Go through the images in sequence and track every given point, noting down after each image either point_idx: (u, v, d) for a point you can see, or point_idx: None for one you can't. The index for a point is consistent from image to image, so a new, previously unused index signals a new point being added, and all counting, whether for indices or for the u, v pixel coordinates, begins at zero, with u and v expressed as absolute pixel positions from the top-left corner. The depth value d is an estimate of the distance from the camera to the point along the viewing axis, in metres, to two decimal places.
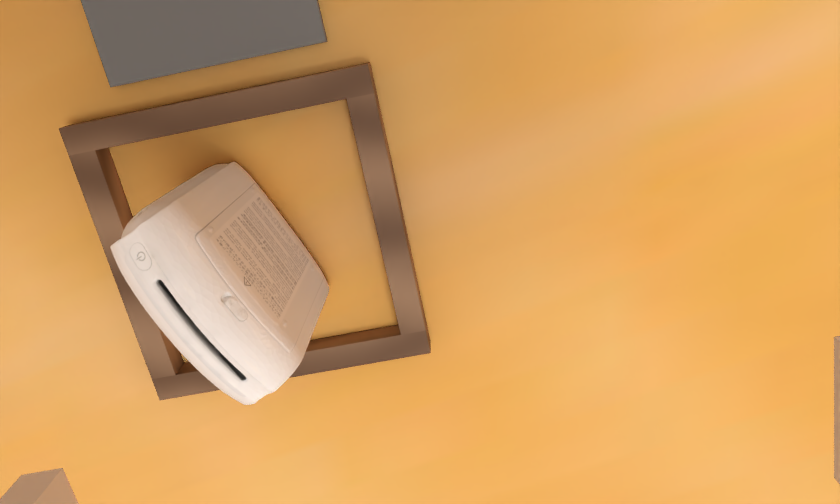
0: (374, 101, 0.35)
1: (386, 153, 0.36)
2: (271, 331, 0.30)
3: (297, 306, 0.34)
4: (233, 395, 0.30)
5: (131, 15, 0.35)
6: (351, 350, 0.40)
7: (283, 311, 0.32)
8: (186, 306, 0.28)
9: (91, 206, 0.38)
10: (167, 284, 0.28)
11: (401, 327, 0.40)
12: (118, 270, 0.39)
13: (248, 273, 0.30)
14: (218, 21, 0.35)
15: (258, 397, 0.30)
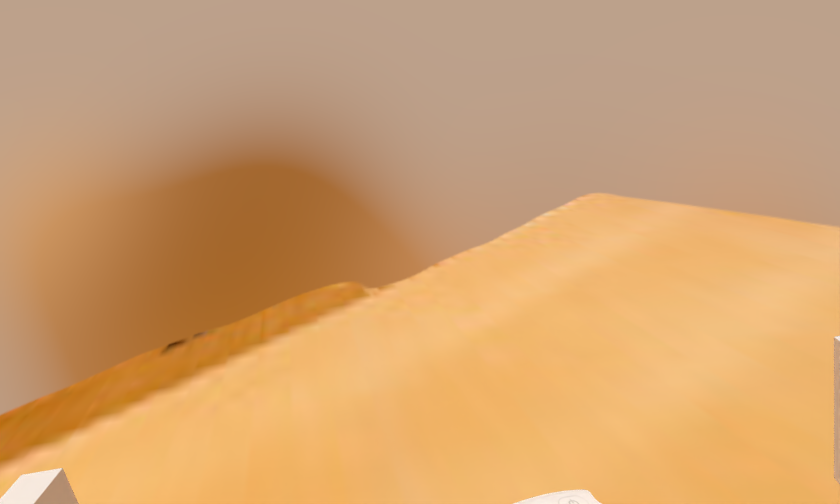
0: None
1: None
2: None
3: None
4: None
5: None
6: None
7: None
8: None
9: None
10: None
11: None
12: None
13: None
14: None
15: None
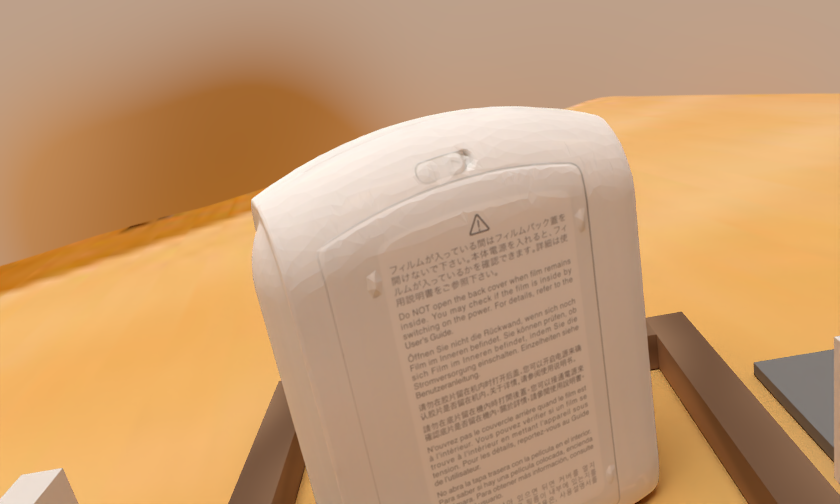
0: None
1: None
2: (376, 220, 0.15)
3: (386, 384, 0.16)
4: None
5: None
6: None
7: (395, 307, 0.15)
8: (466, 112, 0.16)
9: None
10: (507, 109, 0.17)
11: None
12: None
13: (489, 251, 0.16)
14: None
15: (259, 200, 0.16)
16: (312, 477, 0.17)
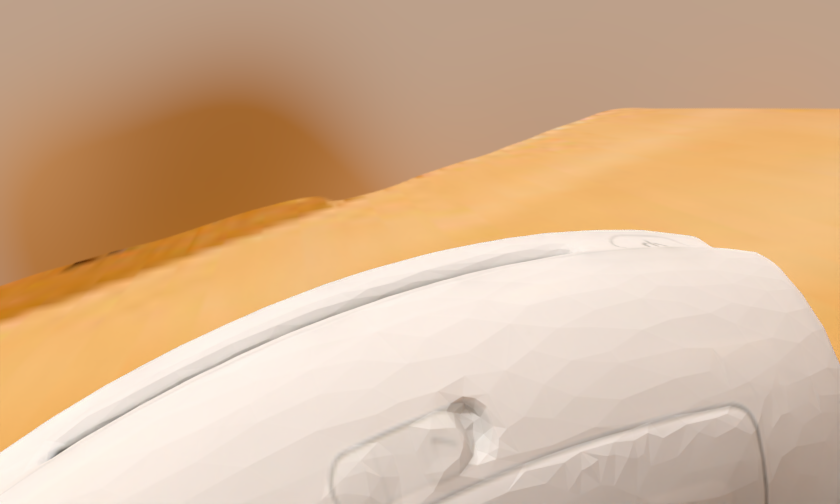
0: None
1: None
2: None
3: None
4: None
5: None
6: None
7: None
8: (470, 274, 0.07)
9: None
10: (567, 254, 0.07)
11: None
12: None
13: None
14: None
15: None
16: None
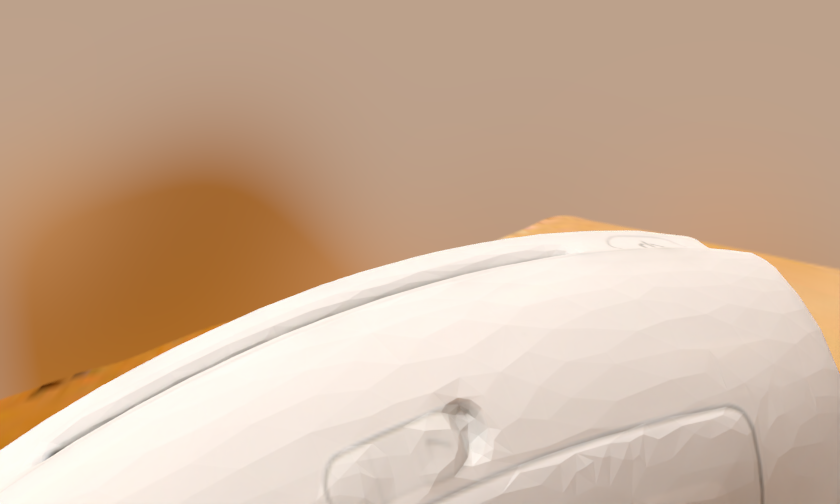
0: None
1: None
2: None
3: None
4: None
5: None
6: None
7: None
8: (465, 274, 0.07)
9: None
10: (563, 254, 0.07)
11: None
12: None
13: None
14: None
15: None
16: None
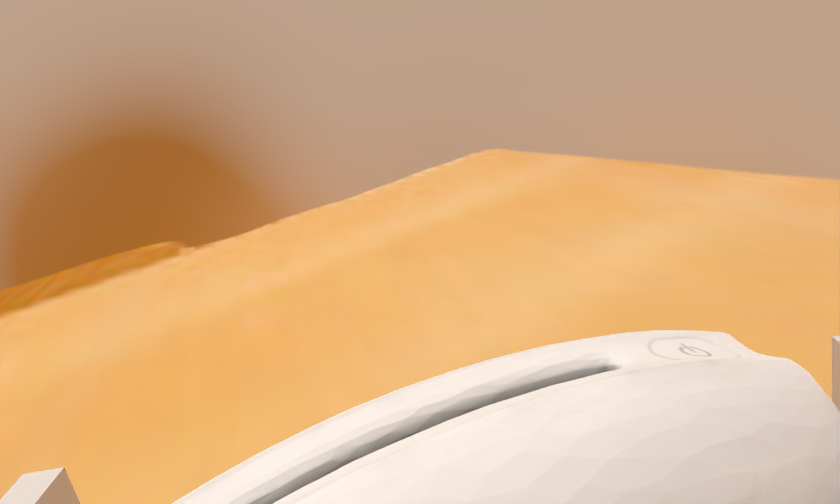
0: None
1: None
2: None
3: None
4: None
5: None
6: None
7: None
8: (523, 399, 0.07)
9: None
10: (612, 372, 0.08)
11: None
12: None
13: None
14: None
15: None
16: None
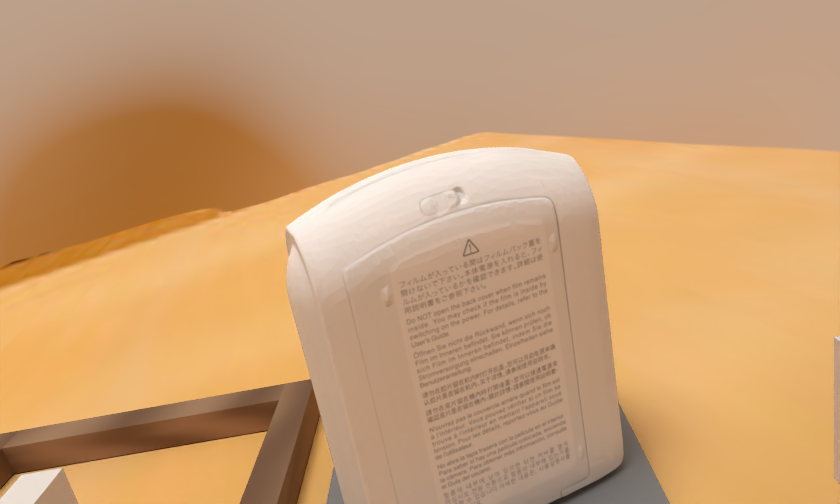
0: None
1: None
2: (388, 245, 0.18)
3: (396, 376, 0.19)
4: None
5: None
6: None
7: (403, 314, 0.19)
8: (460, 155, 0.20)
9: (227, 395, 0.33)
10: (494, 151, 0.21)
11: None
12: (149, 411, 0.33)
13: (479, 269, 0.20)
14: None
15: (292, 228, 0.20)
16: (334, 453, 0.21)
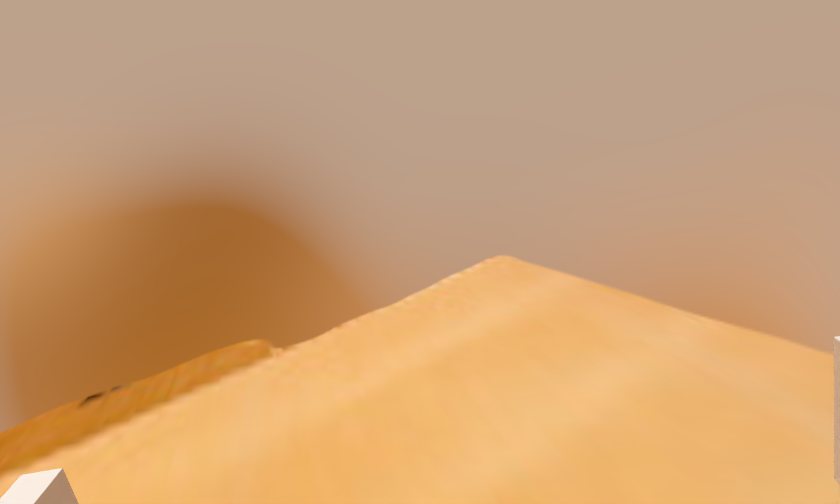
0: None
1: None
2: None
3: None
4: None
5: None
6: None
7: None
8: None
9: None
10: None
11: None
12: None
13: None
14: None
15: None
16: None
